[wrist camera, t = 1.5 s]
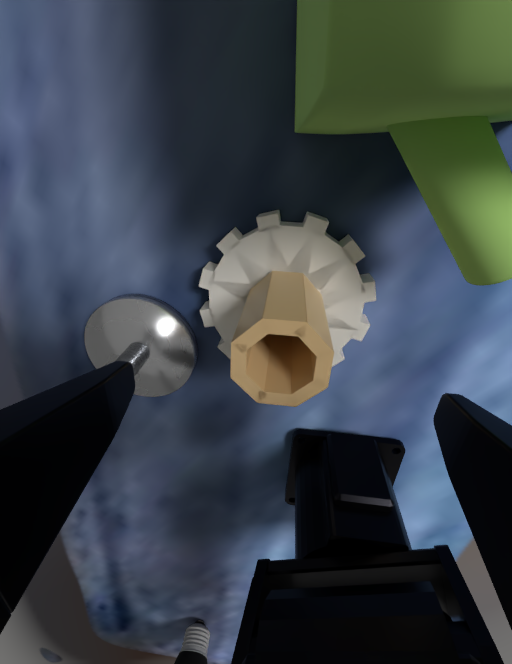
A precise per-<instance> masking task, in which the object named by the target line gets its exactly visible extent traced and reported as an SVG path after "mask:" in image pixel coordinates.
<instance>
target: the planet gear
mask: <svg viewBox="0 0 512 664" xmlns="http://www.w3.org/2000/svg"><path fill="white" fill-rule="evenodd" d="M256 219H257V224H258V228H256V229H254V230H252V231H250V232H248V233H246V234H244V235H242V234H241V232H240V231H239V230H238V229H237V228H236V227H235V228H234V229H233V230H232V231H231V232H229V233H228V234H227V235H226V236H225V237H224V238H223V239H222V240H221V241H220V242H219V243H218V244H217V245H216V246H217V247H218V248H219V249H220V251H221V252H222V253H223V254H224V256H223V257H222V259H221V261H220V262H219V264H215V263H212V262H208V263H207V265H206V266H205V267H204V268H203V271H202V275H201V279H200V283H199V287H201V288H204V289H207V290H209V301H206V302H205V303H204V305H203V306H202V308H201V309H200V314H201V317H202V320H203V323H204V326H205V327H211V326H215V328H216V329H217V331H218V332H219V334H220V336H221V340H220V342H219V344H218V348H219V349H220V350H221V351H222V352H223V353H224V354H225V355H226V356H227V357H228V358H229V359H231V379H233V380H234V381H235V382H236V383H237V384H238V385H239V386H240V387H241V388H242V389H243V390H244V391H245V392H246V393H247V394H248V395H250V396H251V397H252V398H253V399H254V400H255V401H256V402H258V403H264V404H274V405H283V406H293V407H297V406H298V405H300V404H301V403H303V402H305V401H306V400H308V399H310V398H311V397H313V396H315V395H316V394H318V393H319V392H321V391H323V390H324V389H326V388H328V384H329V378H330V373H331V367H333V366H334V365H336V364H338V363H339V362H341V361H342V360H344V359H345V358H344V354H343V350H342V348H343V347H344V346H345V345H346V344H347V343H348V341H349V340H350V339H351V338H353V339H356V340H359V341H362V340H363V338H364V336H365V334H366V332H367V331H368V329H369V327H370V323H369V321H368V319H367V317H366V315H365V314H362V312H363V307H364V303H365V302H371V301H376V290H375V281H374V279H373V278H372V276H371V275H370V274H369V273H367V274H361V275H360V274H359V272H358V269H357V267H356V263H357V262H358V261H360V260H361V259H362V258H364V257H365V255H364V253H363V252H362V251H361V249H360V248H359V247H358V246H357V244H356V243H355V242H354V240H353V239H352V238H351V237H350V235H349V234H348V235H347V236H345V237H344V238H343V239H342V240H340V241H337V240H336V239H335V238H333V237H332V236H330V235H329V234H328V233H326V232H325V231H326V229H327V226H328V224H329V221H328V220H327V218H325V217H322V216H319V215H316V214H313V213H310V212H308V211H307V213H306V215H305V218H304V221H303V223H300V222H284V221H281V217H280V211H279V210H275V211H271V212H266V213H261V214H259V215H258V216H257V217H256Z"/></svg>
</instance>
